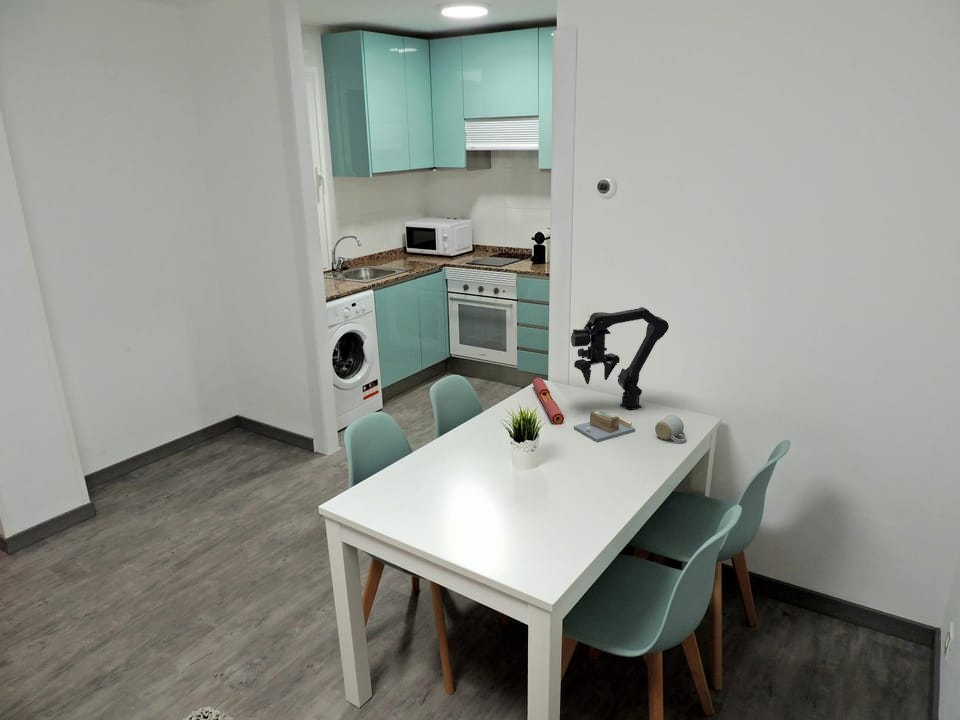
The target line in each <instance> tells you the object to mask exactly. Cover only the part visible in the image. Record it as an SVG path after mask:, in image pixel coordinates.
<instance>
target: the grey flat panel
mask: <svg viewBox="0 0 960 720" xmlns="http://www.w3.org/2000/svg"><path fill="white" fill-rule="evenodd" d="M609 413H610V414H612V415H615V416H617V415H616V414H614V413H612V412H609ZM618 417H619V430H616V431H614V432H611V433H608V432H606V431H603V430H601V429H599V428H596V427H594V426H592V425H590V421H588V422H585V423H581V424H577V425H574V426H573V429H574V430H575V431H577V432H578V433H580V434H582V435H583V436H585V437H587V438H589V439H590V440H592V441H594V442H596V443H599V442H603V441H605V440H609V439H613V438H616V437H620V436H624V435H628V434H631V433H634V432H636V428H635V427H634V426H632V422H630V421H628V420H626V419H624V418H622V417H620V416H618Z"/></svg>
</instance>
